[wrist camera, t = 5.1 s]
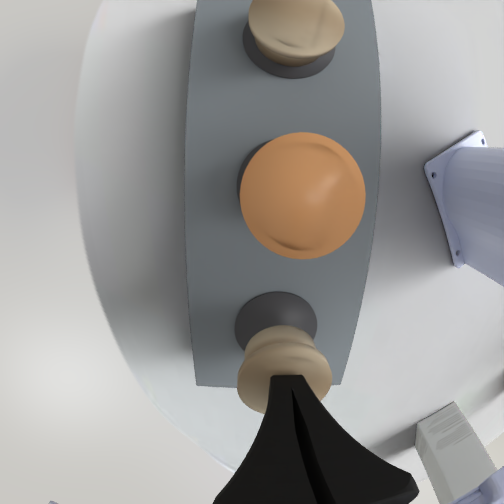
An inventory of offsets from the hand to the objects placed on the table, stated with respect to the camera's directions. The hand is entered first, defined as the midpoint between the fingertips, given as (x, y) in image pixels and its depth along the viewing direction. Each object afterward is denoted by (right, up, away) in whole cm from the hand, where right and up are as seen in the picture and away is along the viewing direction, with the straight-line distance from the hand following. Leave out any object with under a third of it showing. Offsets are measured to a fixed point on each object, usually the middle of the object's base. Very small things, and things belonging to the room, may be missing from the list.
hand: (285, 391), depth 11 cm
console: (0, +10, +6) cm, 12 cm away
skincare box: (+24, -18, +16) cm, 34 cm away
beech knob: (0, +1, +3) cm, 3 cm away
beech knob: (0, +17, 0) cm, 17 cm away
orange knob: (0, +8, 0) cm, 8 cm away
